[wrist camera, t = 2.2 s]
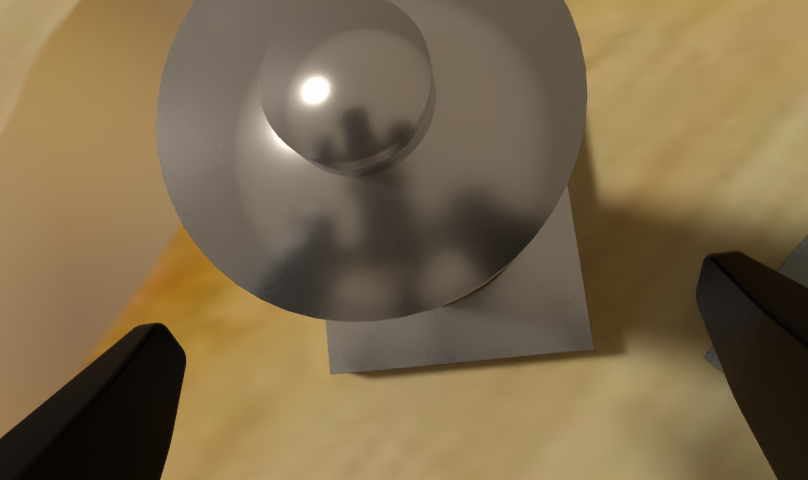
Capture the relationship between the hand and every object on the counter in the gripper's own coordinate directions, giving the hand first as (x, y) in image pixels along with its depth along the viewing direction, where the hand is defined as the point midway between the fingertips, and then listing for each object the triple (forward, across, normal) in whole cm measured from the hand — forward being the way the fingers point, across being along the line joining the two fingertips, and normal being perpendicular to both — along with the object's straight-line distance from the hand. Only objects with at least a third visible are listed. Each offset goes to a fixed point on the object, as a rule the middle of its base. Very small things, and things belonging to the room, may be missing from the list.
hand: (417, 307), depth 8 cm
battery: (+8, 0, +5) cm, 9 cm away
